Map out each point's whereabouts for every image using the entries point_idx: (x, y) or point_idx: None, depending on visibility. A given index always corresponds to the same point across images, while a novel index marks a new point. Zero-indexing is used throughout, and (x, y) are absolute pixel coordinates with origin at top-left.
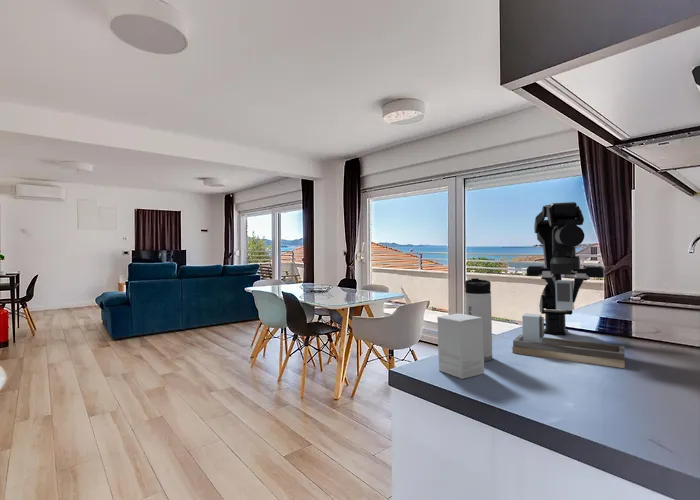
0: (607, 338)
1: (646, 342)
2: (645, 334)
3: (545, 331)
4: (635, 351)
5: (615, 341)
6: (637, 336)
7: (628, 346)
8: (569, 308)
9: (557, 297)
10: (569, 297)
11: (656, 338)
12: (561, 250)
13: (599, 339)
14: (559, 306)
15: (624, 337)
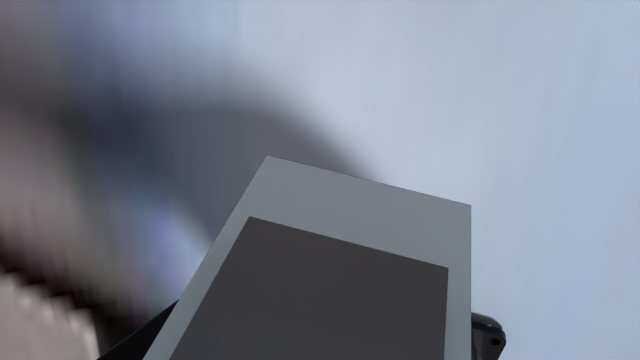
0: (175, 271)
1: (24, 230)
2: (55, 353)
3: (489, 338)
4: (21, 22)
5: (137, 221)
6: (73, 321)
7: (70, 131)
8: (291, 178)
9: (442, 322)
10: (220, 269)
11: (10, 301)
12: None
13: (208, 246)
14: (419, 222)
15: (113, 299)
